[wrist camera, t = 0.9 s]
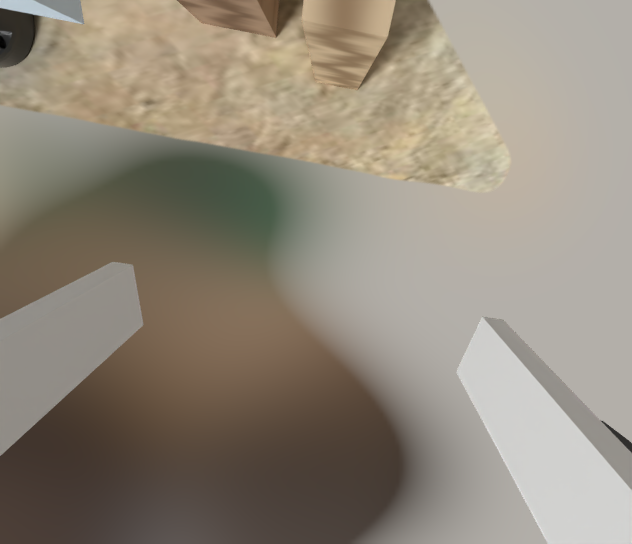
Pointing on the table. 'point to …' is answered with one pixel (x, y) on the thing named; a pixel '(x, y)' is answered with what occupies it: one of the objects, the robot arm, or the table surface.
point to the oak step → (345, 37)
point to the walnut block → (237, 14)
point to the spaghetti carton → (48, 8)
